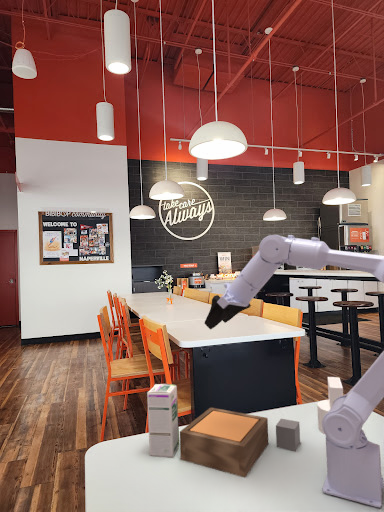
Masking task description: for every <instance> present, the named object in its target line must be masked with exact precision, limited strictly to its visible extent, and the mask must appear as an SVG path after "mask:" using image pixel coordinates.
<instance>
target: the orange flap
mask: <svg viewBox="0 0 384 512" xmlns="http://www.w3.org/2000/svg"><path fill="white" fill-rule="evenodd" d="M258 422H259V419H255V418H249V417H244V416H239V415H234V414H228V413H223V412H218V411H212V412H211V413H210V414H209V415H208V416H206V417H205V418H204V419H203V420H201V421H200V422H199V423H198V424H197V425H195V426H194V427H193V428H192V429H190V431H191V432H196V433H200V434H204V435H209V436H213V437H217V438H222V439H226V440H230V441H235V442H239V443H241V442H242V441H243V440H244V438H245V437H246V436H247V435H248V434H249V432H250V431H251V430H252V429H253V428H254V427H255V425H256V424H257V423H258Z"/></svg>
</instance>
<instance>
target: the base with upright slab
mask: <svg viewBox="0 0 384 512" xmlns="http://www.w3.org/2000/svg"><path fill="white" fill-rule="evenodd" d="M327 392H328V393H327V394H328V399H324V400H320V401H318V402H317V404H316V405H317V406H316V407H317V423H318V424H317V425H318V430H319V432H320V433H322V434H323V435H325V433H324V431H323V428H322V421H323V418H324V416H325V415H326V414H327V413H328V412H329V410H330V409H331V407H332V405H333V402H334V401H335V399H337V398H338V397H340V396H343V395H344V387H343V384H342V381H341V378H340V377H336V376H327Z"/></svg>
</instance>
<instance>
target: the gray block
mask: <svg viewBox="0 0 384 512" xmlns="http://www.w3.org/2000/svg"><path fill="white" fill-rule="evenodd" d="M300 431H301V430H300V421H296V420H290V419H285V418H280V419H279V420H278V422H277V423H276V425H275V439H276V440H275V441H276V442H275V443H276V448H279V449H283V450H287V451H291V452H297V451H298V448H299V446H300V445H301V432H300Z"/></svg>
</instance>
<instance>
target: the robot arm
mask: <svg viewBox="0 0 384 512" xmlns="http://www.w3.org/2000/svg"><path fill="white" fill-rule="evenodd" d="M282 264H286V265H288V266H293V267H299V268H304V269H309V270H310V269H311V270H316V271H320V270H322V269H324V268H325V267H326V266H333V267H337V268H343V269H349V270H352V271H359V272H363V273H367V274H370V275H372V276H374V278H376V279H377V280H378V281H380V282H381V283H382V284H384V255H380V254H371V253H363V252H354V251H353V252H352V251H345V250H344V251H343V250H337V249H331V248H330V247H329V246H328V245H327V243H326V242H325V241H322V240H320V238H319V237H314V236H313V237H310V239H308V238H307V239H306V238H298V237H295V235H292V234H288V235H287V237H285V236H282V235H279V234H272V235H271V234H269V235H266V236H264V238H263V239H262V240H261V241H260V243H259V246H258V251H257V252H256V253H255V254H254V255H253V256H252V258H250V260H249V261H248V262H247V263H246V265H245V266H244V268H243V269H242V270H241V271H240V272H239V274H238V275H237V276H236V277H235V279H234V280H233V281H232V283H230V282H225V283H224V284H223V287H224V288H225V291H224V293H223V295H221V296H220V295H218V294H216V295H214V296H213V297H212V299H211V306H210V309H209V312H208V314H207V316H206V318H205V320H204V324H205V325H206V327H207V328H208V329H209V330H212V329H214V328H215V327H217V326H218V325H219V324H221V322H223V323H224V324H226V323H228V322H229V321H230V320H232V319H233V318H234V317H235V316H237V315H238V314H240V313H241V312H243V311H244V310H248V309H249V308H251V306H252V305H251V301H252V300H253V298H254V297H256V295H257V294H258V293H259V292H260V291H261V290H262V288H263V287H264V286H265V285H266V284H267V282H268V281H269V280H270V279H271V277H273V275H274V274H275V272H277V270H278V269H279V268H280V266H282ZM383 399H384V350H383V351H382V352H381V353H380V354H379V356H378V357H377V358H376V359H375V361H374V362H373V363H372V364H371V365H370V367H368V369H367V370H366V371H365V373H364V374H363V375H362V376H361V378H360V379H358V381H357V382H356V383H355V384H354V386H353V387H352V388H351V389H349V391H348V392H347V393H346V394H343V396H340V397H338V398H337V399H335V401H334V402H333V405H332V407H331V409H330V410H329V412H328V413H327V414H326V415H325V416H324V418H323V421H322V428H323V431H324V433H325V434H324V435H325V449H326V450H325V451H326V452H325V454H326V455H325V456H326V468H327V469H326V470H327V471H326V472H327V473H326V476H325V477H326V478H325V480H324V483H323V486H322V487H323V488H322V492H323V493H324V494H327V495H332V496H335V497H339V498H342V499H346V500H350V501H354V502H357V503H361V504H364V505H367V506H372V507H375V508H378V509H379V508H381V507H382V500H383V499H382V496H383V490H384V477H382V459H381V458H382V457H381V448H380V444H378V443H375V442H371V441H369V440H368V437H367V436H366V433H365V432H364V430H363V429H362V428H363V426H364V424H365V423H366V422H367V421H368V419H369V417H370V416H371V414H372V413H373V412H374V409H376V407H378V405H379V403H380V402H381V401H382V400H383Z"/></svg>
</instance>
